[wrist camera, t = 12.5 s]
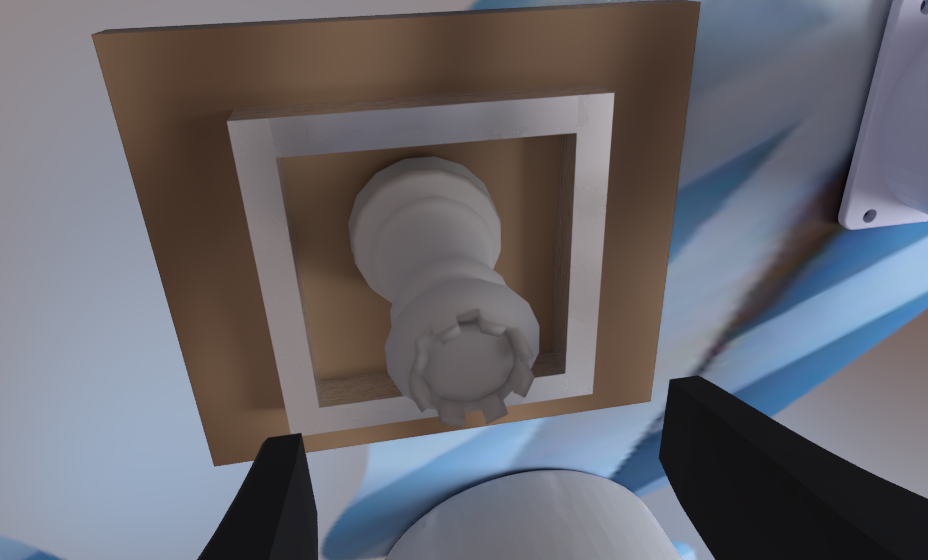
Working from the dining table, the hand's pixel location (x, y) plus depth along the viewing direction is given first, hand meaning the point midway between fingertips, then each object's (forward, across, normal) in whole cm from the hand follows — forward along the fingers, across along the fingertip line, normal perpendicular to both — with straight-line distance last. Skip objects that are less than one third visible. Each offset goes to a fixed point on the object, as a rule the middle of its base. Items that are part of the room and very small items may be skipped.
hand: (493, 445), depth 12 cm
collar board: (+10, 0, 0) cm, 10 cm away
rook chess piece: (+9, 0, -1) cm, 9 cm away
